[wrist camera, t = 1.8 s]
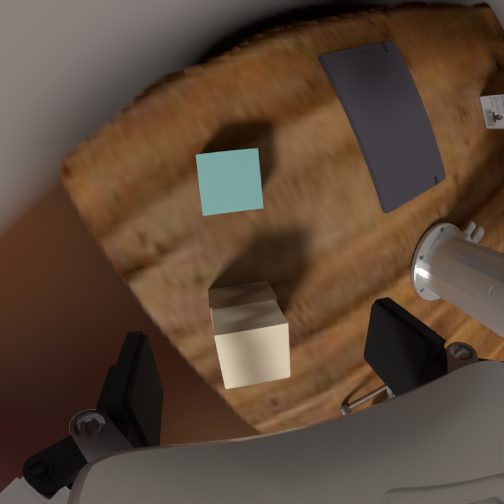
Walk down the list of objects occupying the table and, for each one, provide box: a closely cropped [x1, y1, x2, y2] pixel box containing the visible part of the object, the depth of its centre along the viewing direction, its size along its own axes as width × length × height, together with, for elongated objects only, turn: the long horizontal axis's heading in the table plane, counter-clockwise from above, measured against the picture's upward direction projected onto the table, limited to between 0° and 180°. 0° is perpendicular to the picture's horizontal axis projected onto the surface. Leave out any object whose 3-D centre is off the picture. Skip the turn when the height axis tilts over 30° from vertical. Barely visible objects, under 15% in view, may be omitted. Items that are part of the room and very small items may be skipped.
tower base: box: [208, 280, 278, 330], centre depth 32 cm, size 7×7×5 cm
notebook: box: [318, 42, 445, 213], centre depth 31 cm, size 13×2×21 cm
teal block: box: [196, 148, 263, 216], centre depth 28 cm, size 6×6×6 cm
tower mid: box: [212, 299, 290, 389], centre depth 28 cm, size 6×6×5 cm
